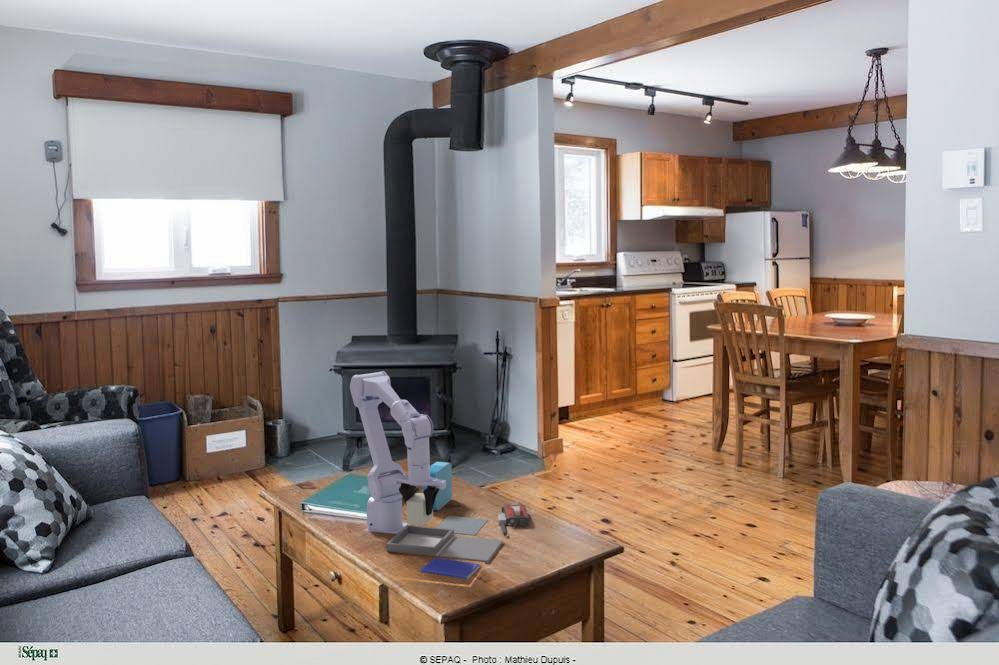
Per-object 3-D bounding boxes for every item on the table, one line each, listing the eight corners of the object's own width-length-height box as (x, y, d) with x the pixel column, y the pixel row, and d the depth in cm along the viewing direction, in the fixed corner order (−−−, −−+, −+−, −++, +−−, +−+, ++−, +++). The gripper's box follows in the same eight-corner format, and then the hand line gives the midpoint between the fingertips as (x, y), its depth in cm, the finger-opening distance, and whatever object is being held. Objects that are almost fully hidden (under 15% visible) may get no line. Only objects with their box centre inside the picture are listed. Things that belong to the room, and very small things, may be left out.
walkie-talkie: (495, 513, 232) (501, 538, 212) (494, 498, 232) (500, 523, 212) (524, 511, 233) (533, 537, 213) (524, 497, 232) (533, 521, 212)
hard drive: (481, 563, 193) (435, 556, 198) (466, 577, 186) (420, 569, 190) (481, 569, 193) (436, 562, 198) (467, 583, 186) (420, 575, 190)
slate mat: (433, 533, 216) (433, 530, 216) (448, 517, 228) (448, 515, 228) (475, 537, 213) (475, 534, 213) (488, 521, 224) (488, 519, 224)
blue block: (439, 497, 245) (438, 460, 244) (452, 499, 244) (451, 461, 243) (423, 510, 234) (421, 471, 233) (437, 512, 233) (435, 472, 231)
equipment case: (386, 553, 203) (386, 543, 203) (407, 533, 216) (407, 524, 216) (487, 563, 195) (487, 553, 195) (502, 542, 208) (502, 533, 208)
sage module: (407, 523, 204) (406, 501, 203) (417, 514, 211) (416, 492, 210) (423, 525, 203) (422, 502, 202) (433, 516, 209) (432, 494, 209)
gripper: (450, 460, 206) (451, 510, 208) (401, 455, 211) (402, 504, 213) (438, 468, 199) (440, 520, 201) (388, 463, 205) (390, 513, 206)
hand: (420, 512), depth 207 cm, fingers closed on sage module, 5 cm apart
